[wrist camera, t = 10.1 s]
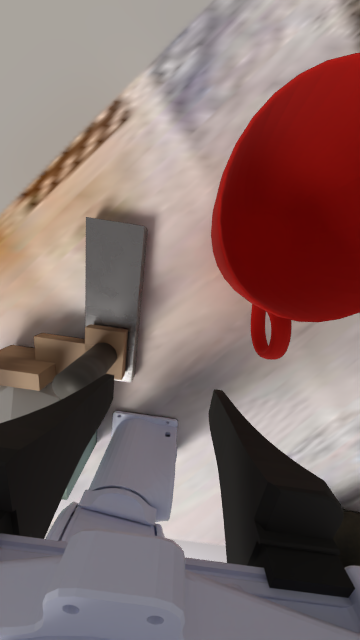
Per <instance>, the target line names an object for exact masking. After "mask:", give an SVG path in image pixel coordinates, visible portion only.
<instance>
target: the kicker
mask: <svg viewBox="0 0 360 640" xmlns="http://www.w3.org/2000/svg"><path fill="white" fill-rule="evenodd" d="M127 339H128V330H127V329H120V328H113V327H107V326H100V325H93V324H90V325H88V326H86V327H85V339H80V338H73V337H67V336H60V335H53V334H46V333H41V334H38V335H36V336H34V347H35V348H29V347H22V346H16V345H10V346H8V347H6V348H3V349H1V350H0V385H1V386H8V387H15V388H22V389H29V390H36V391H40V390H41V389H43V388H44V387H45V386H46V385H48V384H49V383H50V382H51V381H52V388H53V391H54V393H55V394H56V396H57V397H58V398H60V399H61V400H62V399H64V398H66V397H67V396H69V395H71V394H73V393H75V392H76V391H78V390H80V389H82V388H83V387H85V386H87V385H88V384H90V383H92V382H93V381H95V380H96V379H98V378H100V377H101V376H103V375H105V374H111V375H114V379H117V380H122V378H123V377H124V375H125V366H126V352H127Z"/></svg>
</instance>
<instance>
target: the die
mask: <svg viewBox="0 0 360 640" xmlns="http://www.w3.org/2000/svg"><path fill="white" fill-rule="evenodd" d="M57 401H59V398H58V397H57V396H56V394H55V393H54V391H53V388H52V384H51V382H50V383H49V384H48V385H46V386H45V387H44V388H43V389H41V390H40V391H36V390H29V389H22V388H15V387H8V386H1V385H0V423H2V422H5V421H9V420H12V419H15V418H18V417H21V416H24V415H26V414H29V413H31V412H34V411H36V410H39V409H42V408H44V407H46V406H49V405H51V404H53V403H55V402H57Z"/></svg>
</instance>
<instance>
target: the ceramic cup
mask: <svg viewBox="0 0 360 640" xmlns="http://www.w3.org/2000/svg"><path fill="white" fill-rule="evenodd" d="M211 238H212V247H213V253H214V256H215V260H216V263H217V266H218V268H219V270H220V271H221V273H222V275H223V277H224V279H225V280H226V281H227V282H228V283H229V284H230V286H231V287H232V288H233V289H234V290H235V291H236V292H237V293H239V294H240V295H241V296H243V297H244V298H245V299H247V300H248V301H249V302H251V303H252V313H251V338H252V343H253V346H254V349H255V351H256V353H257V354H258V355H259V356H260V357H262V358H265V359H278V358H280V357H282V356H283V355H284V354H285V352H286V351H287V348H288V346H289V342H290V337H291V320H294V321H299V322H323V321H330V320H336V319H341V318H344V317H347V316H350V315H353V314H356V313H359V312H360V53H355V54H351V55H347V56H343V57H339V58H335V59H331V60H327V61H325V62H323V63H321V64H319V65H317V66H315V67H313V68H311V69H309V70H307V71H305V72H303V73H301V74H299V75H298V76H296V77H295V78H294V79H292V80H291V81H290V82H288V83H287V84H286V85H285V86H283V87H282V88H281V89H279V90H278V91H277V92H275V93H274V94H273V95H272V97H271V98H270V99H269V100H268V101H267V102H266V103H265V104H264V105H263V107H262V108H261V109H260V110H259V111H258V112H257V113H256V114H255V115H254V117H253V118H252V119H251V121H250V122H249V124H248V126H247V127H246V129H245V130H244V132H243V133H242V135H241V136H240V138H239V140H238V141H237V143H236V145H235V147H234V149H233V151H232V154H231V156H230V158H229V160H228V163H227V165H226V167H225V170H224V172H223V175H222V178H221V181H220V185H219V189H218V193H217V197H216V201H215V205H214V209H213V215H212V229H211ZM266 312H267V313H268V315H269V318H270V321H271V339H270V343H269V346H268V343H267V340H266V334H265V315H266Z"/></svg>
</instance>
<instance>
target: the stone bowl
mask: <svg viewBox="0 0 360 640" xmlns="http://www.w3.org/2000/svg"><path fill="white" fill-rule="evenodd" d="M333 539H334V541H335V543H336V545H337V546H338V548H339V551H340V554H339V555H337V556H338V557H339V559H340V561H341V563H342V565H343V567H344V568H345V567H347V566H354V565H355V566H360V513H354V512H351V511H349V512H345V511H343V521H342V523H341V525H340V527H339V529H338V530H337V532H336V534H335V536H334V537H333Z"/></svg>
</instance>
